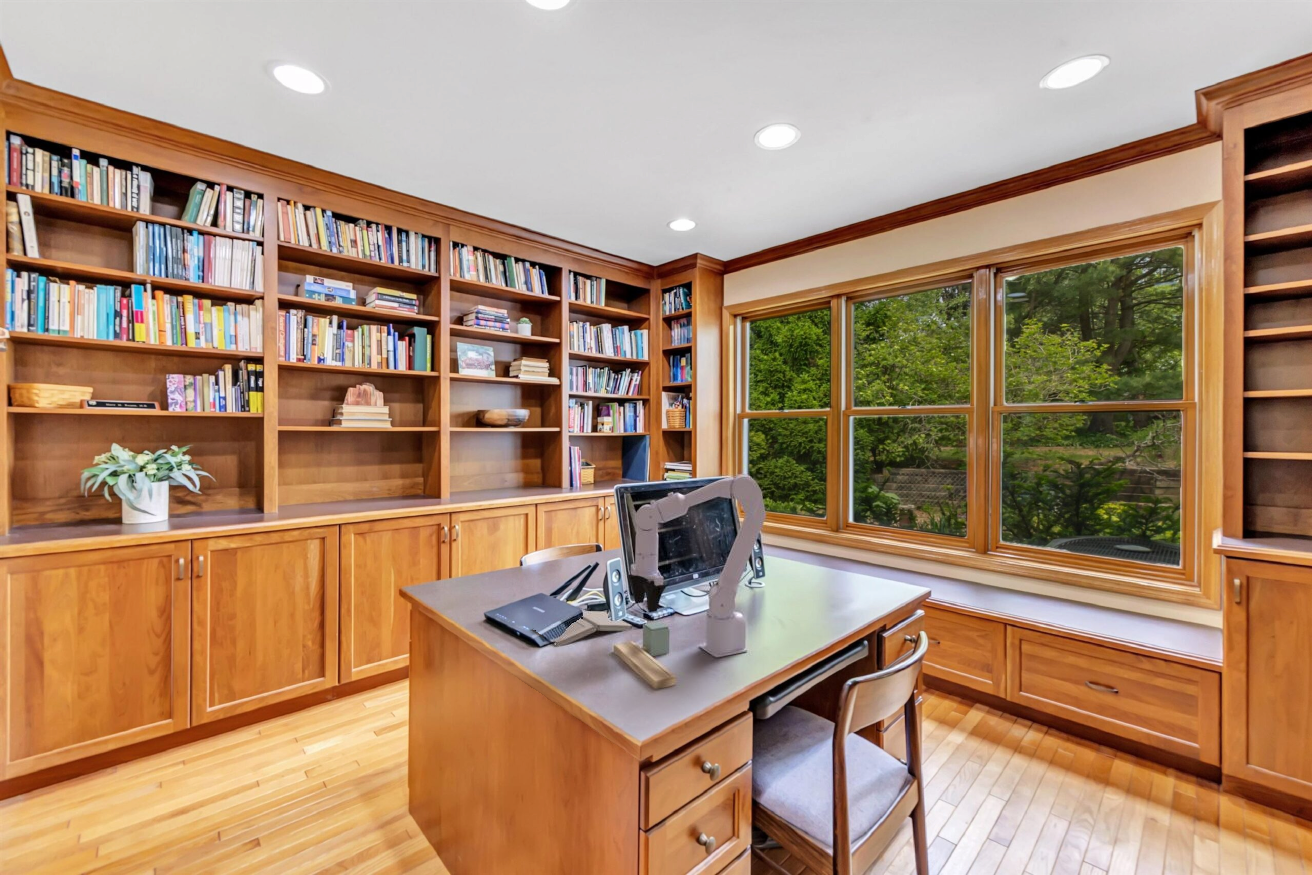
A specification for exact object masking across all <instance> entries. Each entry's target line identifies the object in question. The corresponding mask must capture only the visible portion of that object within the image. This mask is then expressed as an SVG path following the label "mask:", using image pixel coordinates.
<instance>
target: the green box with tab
mask: <svg viewBox="0 0 1312 875" xmlns="http://www.w3.org/2000/svg"><path fill="white" fill-rule="evenodd" d="M670 630H671V629H670V628H669V626H668V625H667V624H666V623H664V622H663V621H654V622H653V621H652V622H648V623H644V625H643V626H642V647H641V648H642V649H643V650H644V651H645V652H646V653H648V654H649V655H650V656H651V657H654V656H660V655H666V654H669V653H670Z"/></svg>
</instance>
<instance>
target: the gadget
mask: <svg viewBox="0 0 1312 875" xmlns="http://www.w3.org/2000/svg"><path fill="white" fill-rule="evenodd" d="M582 611H583V616H582V617H583V619H581V618H580V619H579V620H577V621H576V622H574V623H572V624H571V625H570V626H569V627H568V628H567V629H566V631H565V632H564V633H563V634H562V635H561V636H560V637H558V638H557V639H555V640H554V641H555V643H556V645H555V646H556V647H557V648H559V647H564V646H566V645H569V644H571V643H573V642H575V641H577V640H580V639H582V638H584V637H586V636H588V635H590V634H593V633H595V632H599V631H601V632H605V631H607V632H626V631H630V630H632V628H633V625H632V624H630V623H628V622H626V621H623V620H622V619H620V621H611V620H609V618H608V614H609V613H608V612H606V611H596V610H595V611H594V610H591V611H590V610H582ZM607 613H608V614H607Z"/></svg>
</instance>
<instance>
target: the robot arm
mask: <svg viewBox="0 0 1312 875" xmlns="http://www.w3.org/2000/svg"><path fill="white" fill-rule="evenodd" d="M731 495H733V497H734V499H736V501H737V502H738V503H739V504H740V507H741V508H742V510H743V512H744V517H743V519H742V523H741V525H740V528H739V529H738V532H737V534H736V537H735V540H734V542H733V545H732V547H731V549H730V552H729V554H728V555H727V556H728V557H727V560H726V562H725V564H724V567H723V568H722V571H721V573H720V574H719V576H718V578H717V580H716V582H715V583H714V584H712V585H711V586H710V588H709V590H708V595H707V596H708V609H707V610H706V619H705V620H706V622H705V626H706V627H705V628H706V630H705V642H704V643H699V644H698V648H701V649H702V650H703V651H705V652H706V653H708V654H710V656H712V657H714V658H721V657H726V656H731V655H737V654H741V653H746V652H748V649H747V648H746V637H747V636H746V633H747V632H746V631H747V630H746V627H747V625H746V621H745V618H744V615H743V614H742V613H741V612H739V611H735V610H736V609H735V608H736V600H735V599H736V597H737V593H738V588H739V583H740V582H741V579H742V576H743V573H744V572H745V569H746V567H747V564H748V562H749V559H750V557H751V554H752V553H753V549H754V547H755V544H756V542H757V540H758V538H759V534H760V532H761V530H762V528H763V525H764V523H765V520H766V517H767V512H766V508H765V502H764V498H763V492H762V489H761V487H760V486H759V484H758V483H757V482H756V480H755V479H754V478H752V476H750V475H748V474H745V473H739V474H737V475H735V476H729V477H726V478H723V479H722V478H721V479H718V480H716V481H714V482H712V483H709V484H707V485H705V486H703V487H700V488H698V489H696V490H693V491H691V492H689V493H686V494H681V493H680V492H675V493H674V492H673V491H672V492H669V493H667V496H666V497H663V498H661V499H658V500H655V499H654V500H651V501H650V502H649V503H650V504H643V505H642V506H641V507H639V509H638V510H637V511H636V512H635V517H634V521H635V524H636V529H635V531H636V534H635V549H634V550H635V558H634V559H635V562H634V563H635V564H634V563H632V564H630V574H628V575H627V576H626V577H627V579H628V582H629V584H630V586H631V591H632V594H633V595H632V596H633V599H634V603H635V604H642V603H644V600H645V596H646V607H647V611H648V613H655V612H657V611H658V608H659V604H660V601H661V598H662V595H663V593H664V591H665V589H666V588H667V583H665V582H664V576H662V575H661V572H660V571H659V569H658V568H659V534H658V528H659V526H658V523H662V524H664V523H667V522H669V521H671V520H674V519H677V518H679V517H681V516H685V515H686V514H687V513H688V510H689V508H690V507H693V506H696V505H699V504H702V503H704V502H707V501H709V500H713V499H715V498H718V497H720V498H726V499H731ZM648 581H650V582H648Z"/></svg>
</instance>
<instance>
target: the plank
mask: <svg viewBox="0 0 1312 875" xmlns="http://www.w3.org/2000/svg"><path fill="white" fill-rule="evenodd" d="M642 648H643V647H640V646H639V645H638V644H637V643H636V642H634V641H632V640H631V641H626V642H620V643H614V644H613V652H614V653H615V654H616V655H617V656H618V657H619V658H620V659H621V660H622V661H623V662H624V663H625V664H627V666H629V667H630V668H631V669H632V670H633V671H634V672H635V673H637V675H639V676H640V677H641V678H642V679H643V680H644V681H646V683H647V684H648V685H649V686H651V687H652V688H653V689H654V690H659V689H663V688H667V687H671V686H676V685H677V676H676V675H675V674H673V673H672V672H671V671H670V670H669V669H668V668H666V667H665V666H664V665H662V664H661V663H660V662H659V661H658V660H657V659H655V658H654V656H650V655H649V654H648V653H646V652H645V651H644V650H643V649H642Z"/></svg>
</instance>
